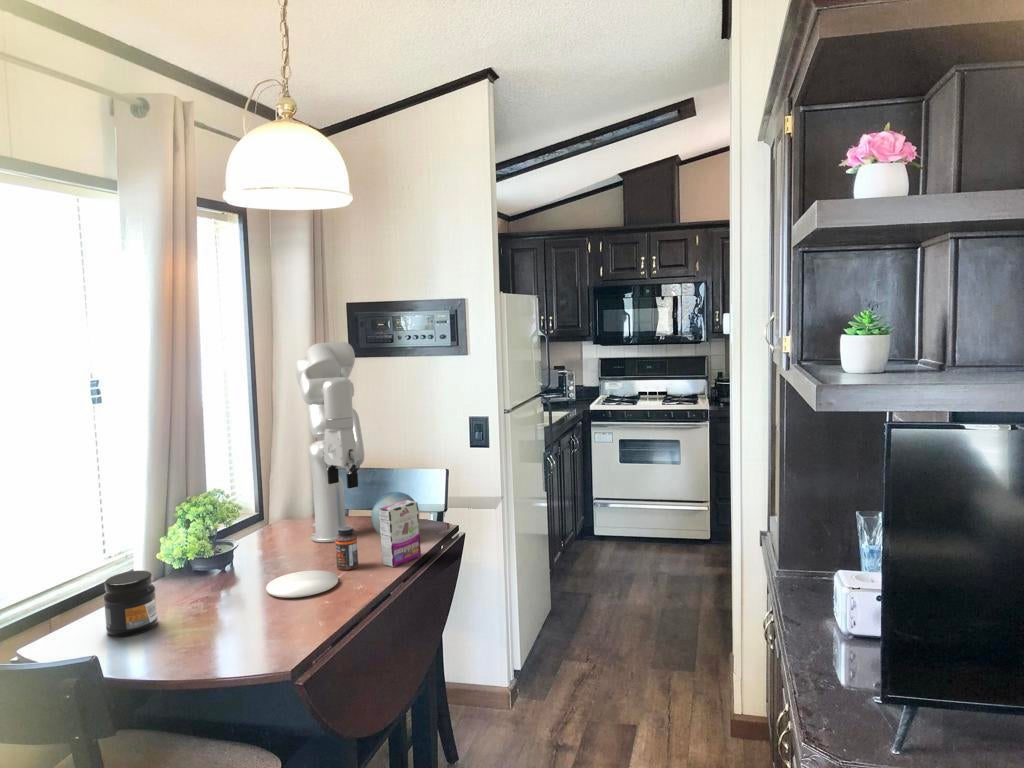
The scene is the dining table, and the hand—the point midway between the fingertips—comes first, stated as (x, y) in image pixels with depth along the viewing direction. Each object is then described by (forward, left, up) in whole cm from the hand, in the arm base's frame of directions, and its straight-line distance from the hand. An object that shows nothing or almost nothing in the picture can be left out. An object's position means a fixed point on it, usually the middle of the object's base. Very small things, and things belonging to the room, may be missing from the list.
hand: (343, 485), depth 198 cm
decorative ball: (-11, +25, -24) cm, 36 cm away
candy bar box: (+7, +13, -24) cm, 28 cm away
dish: (+4, -16, -23) cm, 29 cm away
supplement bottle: (0, 0, -24) cm, 24 cm away
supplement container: (-3, -55, -24) cm, 60 cm away
